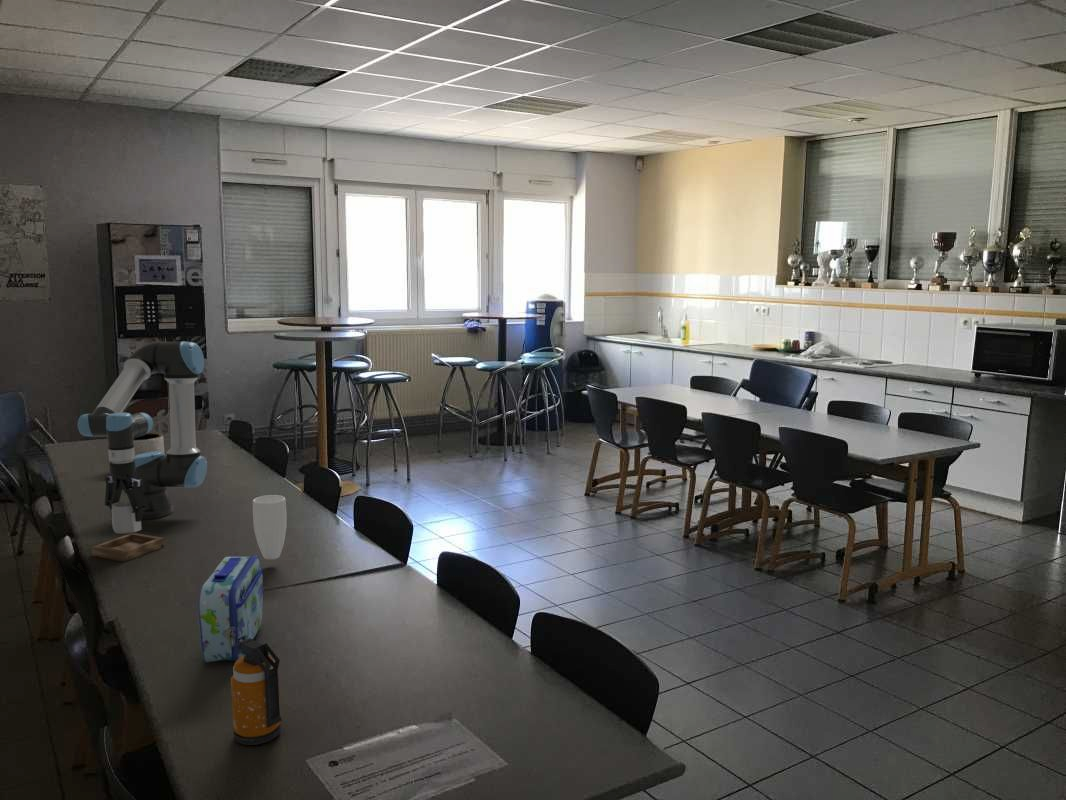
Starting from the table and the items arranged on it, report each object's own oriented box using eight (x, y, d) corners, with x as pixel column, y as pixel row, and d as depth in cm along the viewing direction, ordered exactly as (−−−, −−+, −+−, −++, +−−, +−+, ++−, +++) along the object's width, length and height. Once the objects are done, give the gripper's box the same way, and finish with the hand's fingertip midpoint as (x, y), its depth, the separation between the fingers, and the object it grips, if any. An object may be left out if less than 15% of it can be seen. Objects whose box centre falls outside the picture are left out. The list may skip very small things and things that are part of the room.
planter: (155, 475, 377) (152, 440, 374) (115, 474, 377) (112, 440, 375) (172, 465, 394) (170, 432, 392) (134, 465, 395) (132, 432, 392)
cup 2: (296, 562, 268) (293, 496, 264) (276, 573, 258) (273, 505, 255) (268, 558, 271) (265, 493, 268) (247, 569, 262) (244, 501, 258)
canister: (262, 718, 176) (257, 628, 173) (297, 735, 170) (293, 641, 167) (224, 738, 169) (219, 644, 166) (260, 756, 163) (255, 659, 159)
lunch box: (244, 669, 198) (239, 584, 194) (196, 671, 197) (191, 585, 193) (269, 622, 223) (265, 546, 220) (227, 624, 222) (222, 547, 219)
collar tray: (133, 541, 288) (132, 532, 287) (164, 546, 282) (163, 537, 282) (92, 555, 273) (91, 546, 273) (124, 562, 268) (123, 552, 267)
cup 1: (113, 535, 271) (111, 508, 269) (113, 526, 279) (111, 500, 278) (138, 532, 274) (136, 505, 272) (137, 523, 283) (135, 497, 281)
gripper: (88, 460, 274) (93, 528, 277) (136, 466, 265) (141, 536, 269) (108, 455, 280) (113, 522, 284) (155, 461, 272) (160, 529, 276)
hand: (127, 529), depth 276 cm, fingers closed on cup 1, 8 cm apart
